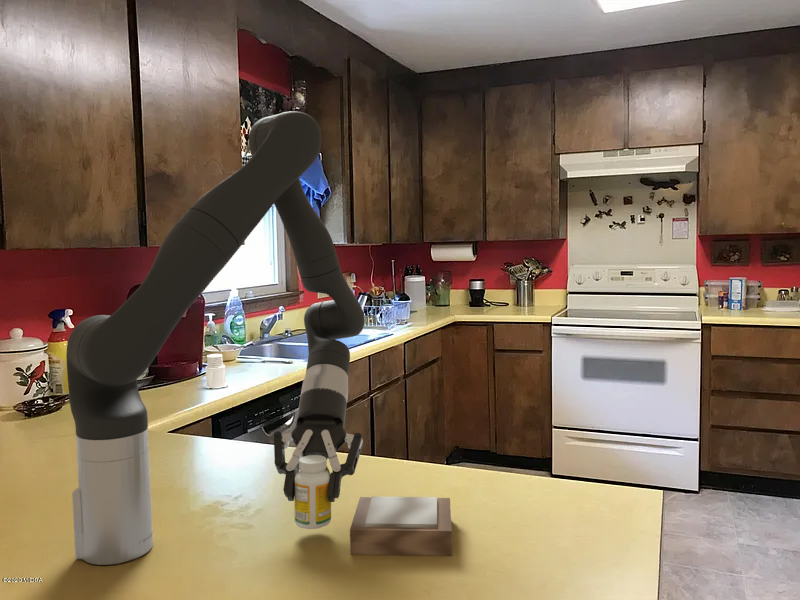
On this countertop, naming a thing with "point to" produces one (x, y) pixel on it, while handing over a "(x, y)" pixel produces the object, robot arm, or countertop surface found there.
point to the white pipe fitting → (215, 371)
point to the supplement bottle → (312, 493)
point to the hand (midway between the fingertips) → (310, 499)
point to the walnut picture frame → (402, 526)
